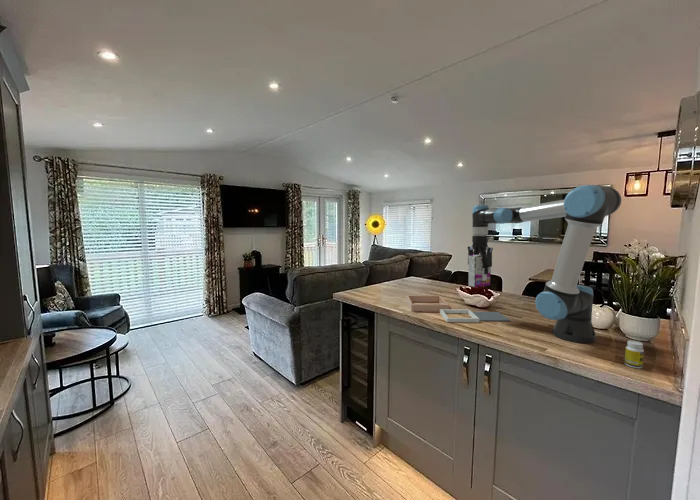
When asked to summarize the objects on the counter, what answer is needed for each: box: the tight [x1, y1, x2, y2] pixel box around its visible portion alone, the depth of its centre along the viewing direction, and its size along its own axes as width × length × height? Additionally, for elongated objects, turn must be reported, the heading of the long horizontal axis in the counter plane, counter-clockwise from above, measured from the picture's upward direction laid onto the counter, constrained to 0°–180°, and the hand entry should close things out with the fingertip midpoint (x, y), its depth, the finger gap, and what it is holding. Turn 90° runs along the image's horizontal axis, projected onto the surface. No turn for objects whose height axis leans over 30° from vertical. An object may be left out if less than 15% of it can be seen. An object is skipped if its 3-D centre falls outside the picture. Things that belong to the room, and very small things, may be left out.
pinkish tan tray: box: [406, 294, 450, 313], centre depth 184 cm, size 22×21×4 cm
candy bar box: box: [467, 253, 492, 288], centre depth 161 cm, size 11×5×16 cm, turn 113°
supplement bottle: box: [624, 339, 645, 370], centre depth 107 cm, size 5×5×8 cm
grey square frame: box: [439, 308, 480, 323], centre depth 163 cm, size 16×16×2 cm
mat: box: [472, 311, 511, 322], centre depth 163 cm, size 14×14×1 cm
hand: (479, 279), depth 161 cm, fingers closed on candy bar box, 5 cm apart
